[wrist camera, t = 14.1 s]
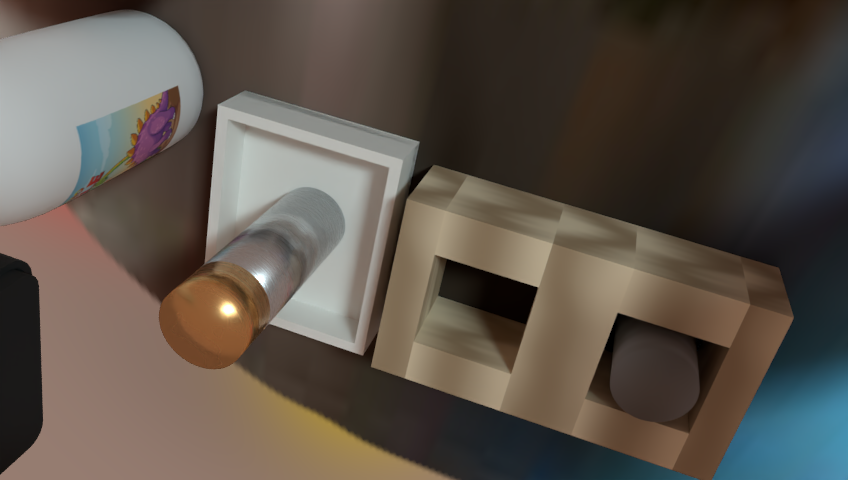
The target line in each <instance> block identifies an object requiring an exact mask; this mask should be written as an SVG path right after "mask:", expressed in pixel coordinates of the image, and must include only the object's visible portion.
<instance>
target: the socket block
mask: <svg viewBox="0 0 848 480" xmlns="http://www.w3.org/2000/svg"><path fill="white" fill-rule="evenodd" d="M447 259H450V260H453V261H456V262H459V263H463V264H466V265H469V266H472V267H475V268H478V269H481V270H485V271H488V272H491V273H494V274H497V275H500V276H504V277H507V278H510V279H513V280H516V281H519V282H523V283H526V284H529V285H532V286H535V287H538V289H537V292H536V295H535V298H534V301H533V304H532V307H531V311H530V314H529V317H528V320H527V323H526V324H523V323H520V322H517V321H514V320H511V319H508V318H505V317H501V316H498V315H495V314H492V313H489V312H486V311H483V310H480V309H477V308H474V307H471V306H468V305H464V304H461V303H458V302H455V301H452V300H449V299H446V298H443V297H440V296H438V293H439V289H440V285H441V281H442V277H443V273H444V269H445V265H446V261H447ZM616 316H617V317H616ZM615 319H616V326H615V336H614V346H613V353H612V352H609V351H606V350H604V347H605V345H606V342H607V340H608V337H609V334H610V332H611V329H612V326H613V324H614V321H615ZM793 319H794V316H793V313H792V309H791V306H790V303H789V300H788V296H787V293H786V290H785V286H784V283H783V280H782V276H781V273H780V270H779V268H778V267H774V266H771V265H767V264H764V263H761V262H757V261H754V260H751V259H747V258H744V257H741V256H737V255H734V254H731V253H727V252H724V251H721V250H717V249H714V248H711V247H707V246H704V245H701V244H697V243H694V242H691V241H687V240H684V239H681V238H677V237H674V236H670V235H667V234H664V233H660V232H657V231H654V230H650V229H647V228H644V227H640V226H637V225H634V224H630V223H627V222H624V221H620V220H617V219H614V218H610V217H607V216H604V215H600V214H597V213H594V212H590V211H587V210H583V209H580V208H577V207H573V206H570V205H567V204H563V203H560V202H557V201H553V200H550V199H547V198H543V197H540V196H537V195H533V194H530V193H527V192H523V191H520V190H517V189H513V188H510V187H507V186H503V185H500V184H497V183H493V182H490V181H486V180H483V179H480V178H476V177H473V176H470V175H466V174H463V173H460V172H456V171H453V170H450V169H446V168H443V167H440V166H436V165H433V166H432V168H431V169H430V170H429V171H428V173H427V174H426V175H425V177H424V178H423V179H422V180H421V182H420V183H419V184H418V186H417V187H416V188H415V189H414V191H413V192H412V193H411V194H410V196H409V197H408V198H407V201H406V206H405V210H404V215H403V220H402V224H401V229H400V234H399V238H398V243H397V248H396V252H395V257H394V262H393V267H392V271H391V276H390V281H389V285H388V290H387V295H386V299H385V304H384V309H383V313H382V318H381V323H380V327H379V332H378V337H377V341H376V346H375V351H374V355H373V360H372V365H371V367H373V368H376V369H379V370H382V371H385V372H388V373H391V374H394V375H397V376H399V377H402V378H405V379H408V380H411V381H414V382H417V383H420V384H423V385H426V386H429V387H432V388H434V389H437V390H440V391H443V392H446V393H449V394H452V395H455V396H458V397H461V398H464V399H467V400H469V401H472V402H475V403H478V404H481V405H484V406H487V407H490V408H493V409H496V410H499V411H502V412H504V413H507V414H510V415H513V416H516V417H519V418H522V419H525V420H528V421H531V422H534V423H537V424H539V425H542V426H545V427H548V428H551V429H554V430H557V431H560V432H563V433H566V434H569V435H572V436H574V437H577V438H580V439H583V440H586V441H589V442H592V443H595V444H598V445H601V446H604V447H606V448H609V449H612V450H615V451H618V452H621V453H624V454H627V455H630V456H633V457H636V458H639V459H641V460H644V461H647V462H650V463H653V464H656V465H659V466H662V467H665V468H668V469H671V470H674V471H676V472H679V473H682V474H685V475H688V476H691V477H694V478H697V479H700V480H712V478H713V476H714V474H715V472H716V470H717V468H718V466H719V464H720V462H721V460H722V458H723V456H724V454H725V452H726V450H727V449H728V447H729V445H730V443H731V441H732V439H733V437H734V435H735V433H736V431H737V429H738V427H739V425H740V423H741V421H742V419H743V417H744V415H745V413H746V411H747V409H748V407H749V405H750V403H751V401H752V399H753V397H754V396H755V394H756V392H757V390H758V388H759V386H760V384H761V382H762V380H763V378H764V376H765V374H766V372H767V370H768V368H769V366H770V364H771V362H772V360H773V358H774V356H775V354H776V352H777V350H778V348H779V346H780V344H781V343H782V341H783V339H784V337H785V335H786V333H787V331H788V329H789V327H790V325H791V323H792V321H793ZM696 338H699V339H703V340H702V343H701V345H700V347H699V349H698V351H697V345H696Z"/></svg>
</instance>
